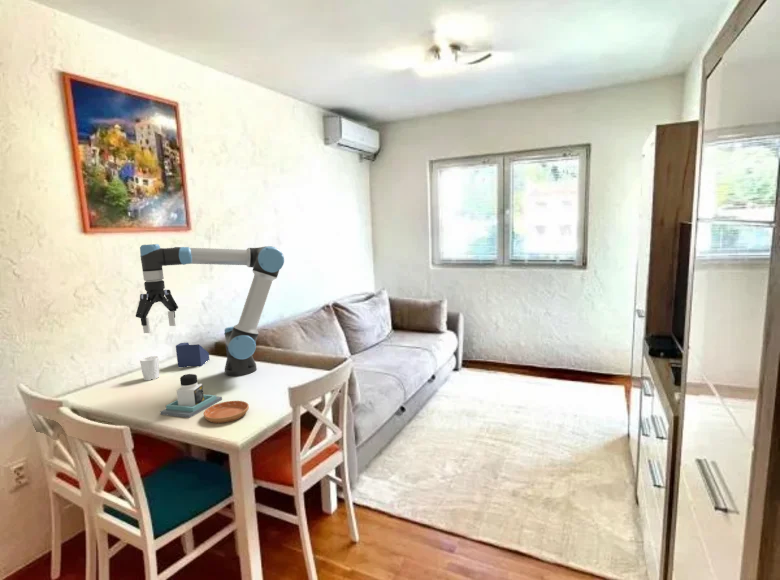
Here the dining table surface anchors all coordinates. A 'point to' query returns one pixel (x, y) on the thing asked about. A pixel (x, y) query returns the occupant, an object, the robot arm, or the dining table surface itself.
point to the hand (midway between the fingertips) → (160, 329)
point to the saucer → (226, 411)
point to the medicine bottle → (190, 391)
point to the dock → (187, 411)
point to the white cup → (150, 367)
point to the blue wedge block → (191, 355)
